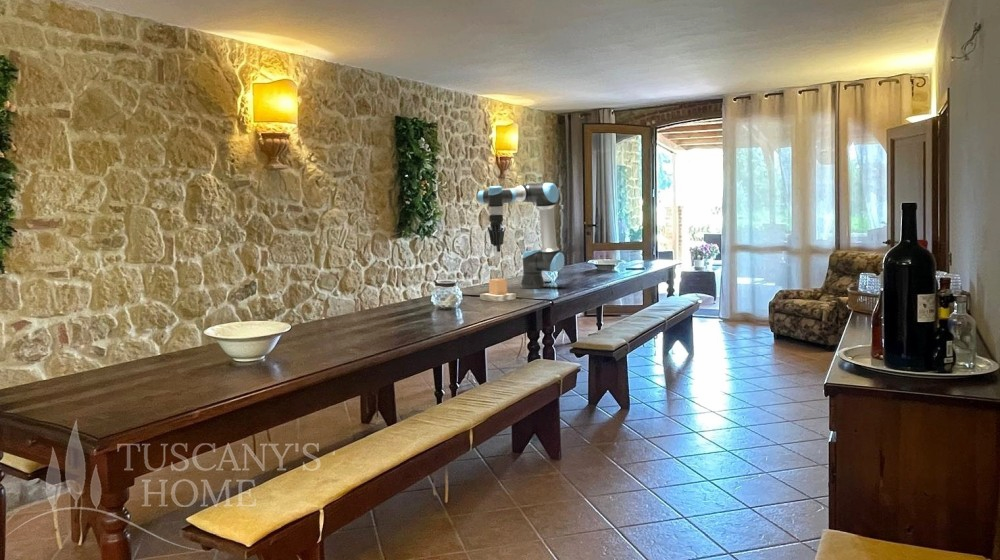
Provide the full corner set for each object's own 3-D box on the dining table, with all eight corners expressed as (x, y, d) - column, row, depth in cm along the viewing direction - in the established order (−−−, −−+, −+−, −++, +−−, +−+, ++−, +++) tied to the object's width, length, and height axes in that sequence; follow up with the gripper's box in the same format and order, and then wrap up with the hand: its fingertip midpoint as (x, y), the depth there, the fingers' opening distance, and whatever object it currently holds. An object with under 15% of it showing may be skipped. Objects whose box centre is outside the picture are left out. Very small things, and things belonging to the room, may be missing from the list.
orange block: (499, 292, 391) (498, 278, 390) (507, 293, 385) (506, 279, 385) (489, 294, 386) (488, 279, 385) (497, 295, 381) (497, 280, 380)
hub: (499, 296, 396) (499, 284, 395) (515, 299, 385) (515, 286, 384) (480, 299, 387) (479, 287, 386) (496, 301, 376) (496, 289, 376)
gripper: (483, 214, 383) (484, 257, 386) (498, 214, 374) (499, 258, 376) (493, 214, 388) (495, 256, 391) (509, 214, 378) (510, 257, 381)
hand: (497, 257), depth 384 cm, fingers closed
